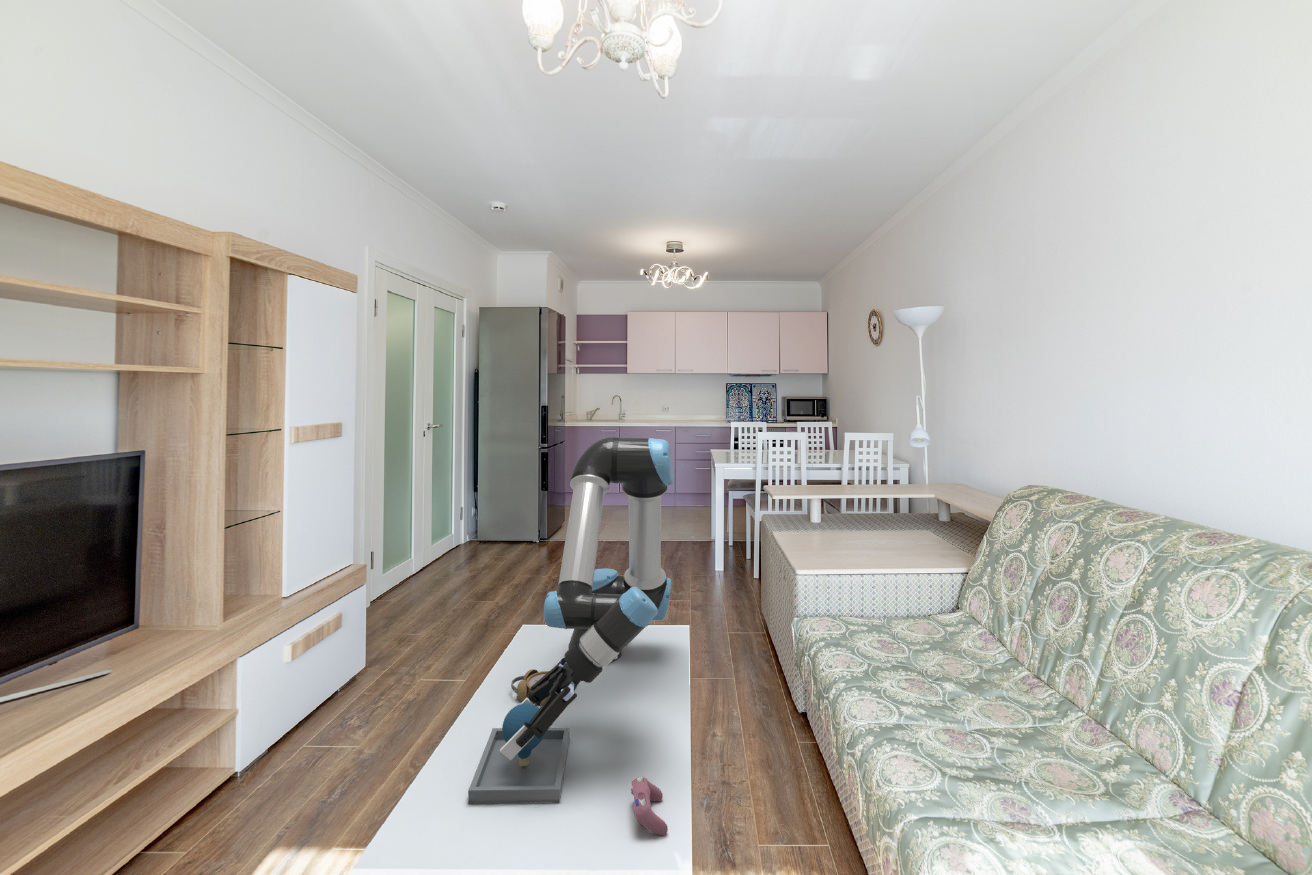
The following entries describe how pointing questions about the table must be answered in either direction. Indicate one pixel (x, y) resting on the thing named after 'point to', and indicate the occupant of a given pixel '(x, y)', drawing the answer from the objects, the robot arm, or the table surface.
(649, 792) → the video game controller
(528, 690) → the alarm clock
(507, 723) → the light bulb
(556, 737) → the tray
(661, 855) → the table surface
